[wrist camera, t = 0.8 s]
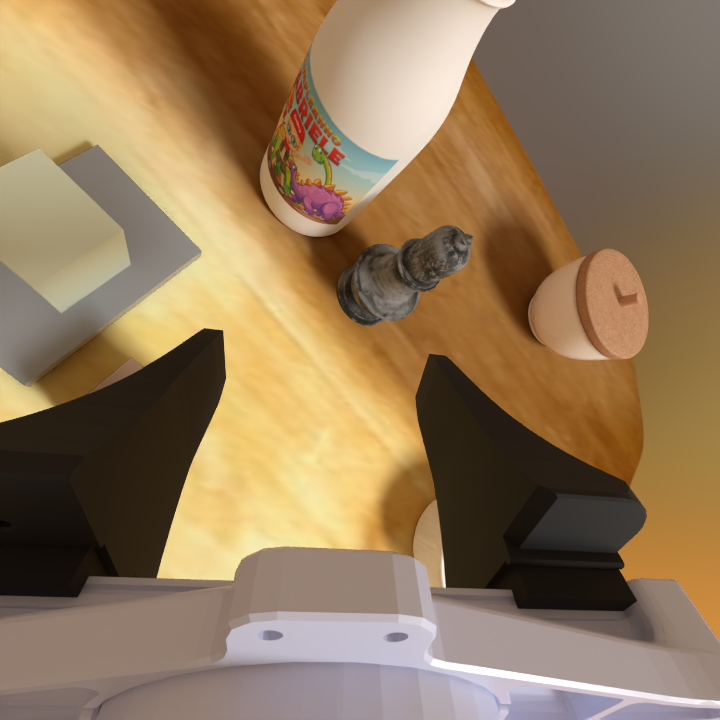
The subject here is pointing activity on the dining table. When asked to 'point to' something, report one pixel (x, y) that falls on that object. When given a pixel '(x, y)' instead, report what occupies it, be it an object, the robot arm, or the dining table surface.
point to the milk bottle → (366, 104)
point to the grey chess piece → (400, 275)
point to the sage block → (56, 232)
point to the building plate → (109, 301)
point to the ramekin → (430, 545)
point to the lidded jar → (591, 308)
